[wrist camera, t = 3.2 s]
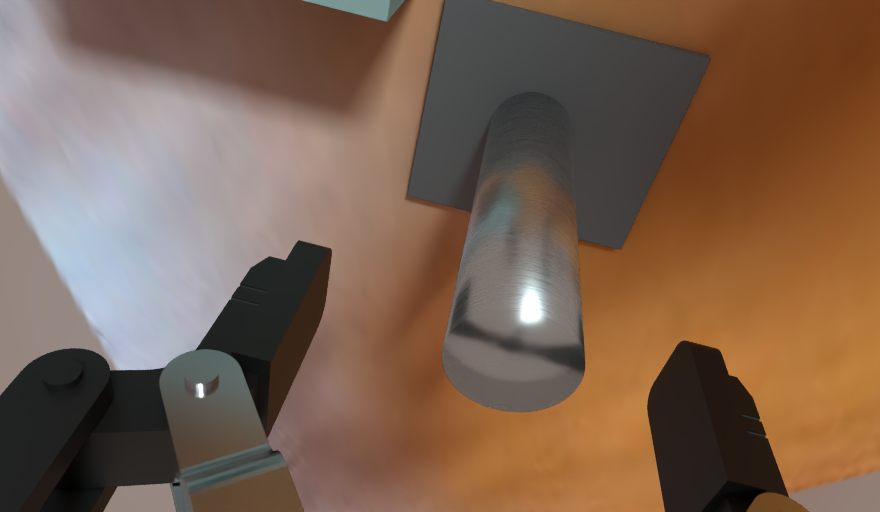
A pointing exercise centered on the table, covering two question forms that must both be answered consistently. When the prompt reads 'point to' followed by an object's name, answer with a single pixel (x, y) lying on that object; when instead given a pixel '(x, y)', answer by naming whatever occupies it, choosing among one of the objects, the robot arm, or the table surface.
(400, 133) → the table surface
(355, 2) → the socket block
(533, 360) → the pin
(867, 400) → the table surface
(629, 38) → the mat
